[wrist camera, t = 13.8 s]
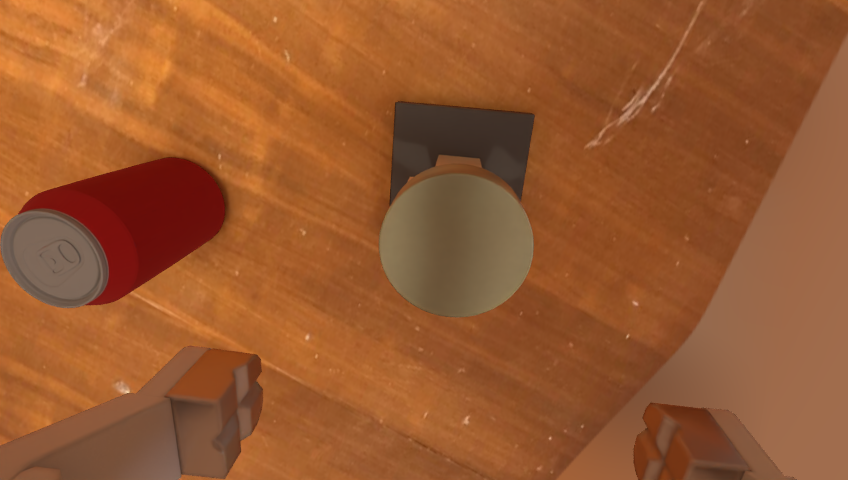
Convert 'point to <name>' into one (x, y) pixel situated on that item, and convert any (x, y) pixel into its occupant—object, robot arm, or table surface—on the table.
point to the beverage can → (111, 231)
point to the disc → (456, 241)
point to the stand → (459, 141)
